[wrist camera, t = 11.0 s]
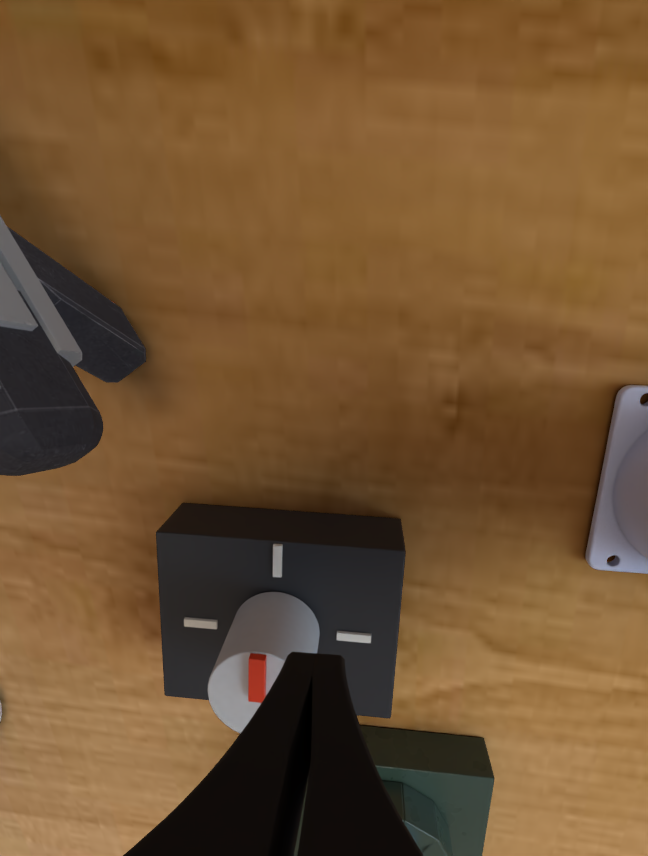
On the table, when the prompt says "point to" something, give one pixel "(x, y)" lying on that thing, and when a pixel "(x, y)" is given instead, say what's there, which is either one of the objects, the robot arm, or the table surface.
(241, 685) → the dimmer knob
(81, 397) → the gun
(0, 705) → the pill bottle
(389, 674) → the dimmer console
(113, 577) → the table surface
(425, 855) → the switch box
